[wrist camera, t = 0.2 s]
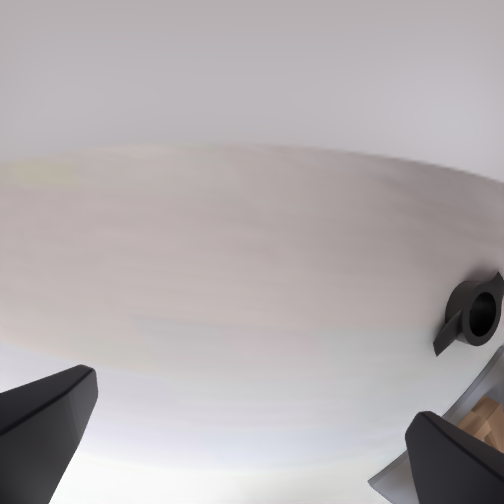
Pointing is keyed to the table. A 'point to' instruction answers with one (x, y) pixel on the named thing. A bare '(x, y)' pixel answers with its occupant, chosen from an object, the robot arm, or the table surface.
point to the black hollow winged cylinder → (472, 313)
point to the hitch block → (464, 417)
